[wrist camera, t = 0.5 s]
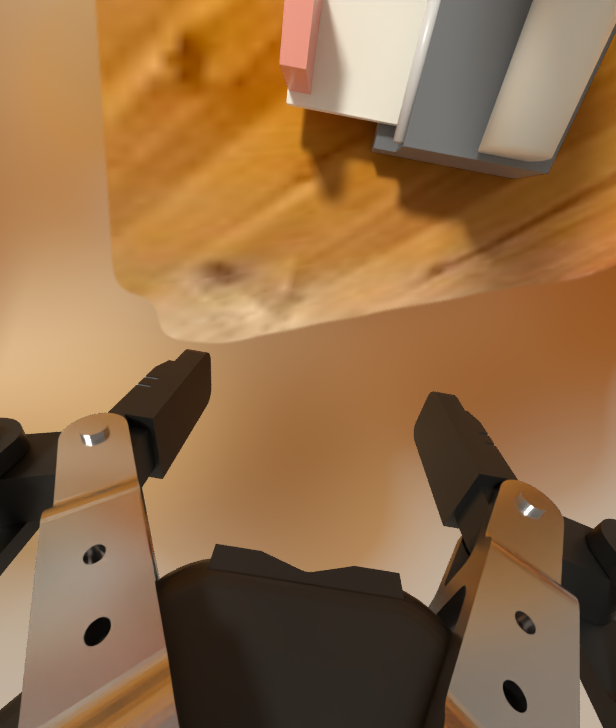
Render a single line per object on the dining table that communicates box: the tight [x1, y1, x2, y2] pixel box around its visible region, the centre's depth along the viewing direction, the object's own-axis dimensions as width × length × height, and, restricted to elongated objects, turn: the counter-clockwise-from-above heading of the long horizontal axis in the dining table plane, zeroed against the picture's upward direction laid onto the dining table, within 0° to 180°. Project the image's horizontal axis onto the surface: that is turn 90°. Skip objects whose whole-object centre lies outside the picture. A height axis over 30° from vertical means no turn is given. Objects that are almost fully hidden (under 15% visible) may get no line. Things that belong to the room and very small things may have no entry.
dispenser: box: [371, 0, 616, 179], centre depth 21 cm, size 11×14×9 cm
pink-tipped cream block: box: [279, 0, 428, 126], centre depth 20 cm, size 8×20×6 cm, turn 81°
